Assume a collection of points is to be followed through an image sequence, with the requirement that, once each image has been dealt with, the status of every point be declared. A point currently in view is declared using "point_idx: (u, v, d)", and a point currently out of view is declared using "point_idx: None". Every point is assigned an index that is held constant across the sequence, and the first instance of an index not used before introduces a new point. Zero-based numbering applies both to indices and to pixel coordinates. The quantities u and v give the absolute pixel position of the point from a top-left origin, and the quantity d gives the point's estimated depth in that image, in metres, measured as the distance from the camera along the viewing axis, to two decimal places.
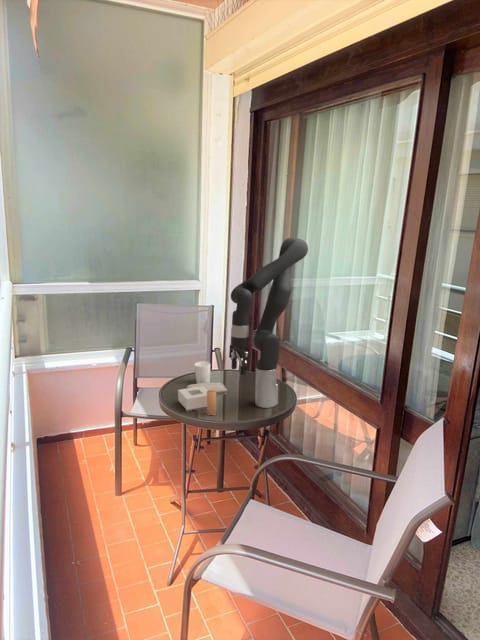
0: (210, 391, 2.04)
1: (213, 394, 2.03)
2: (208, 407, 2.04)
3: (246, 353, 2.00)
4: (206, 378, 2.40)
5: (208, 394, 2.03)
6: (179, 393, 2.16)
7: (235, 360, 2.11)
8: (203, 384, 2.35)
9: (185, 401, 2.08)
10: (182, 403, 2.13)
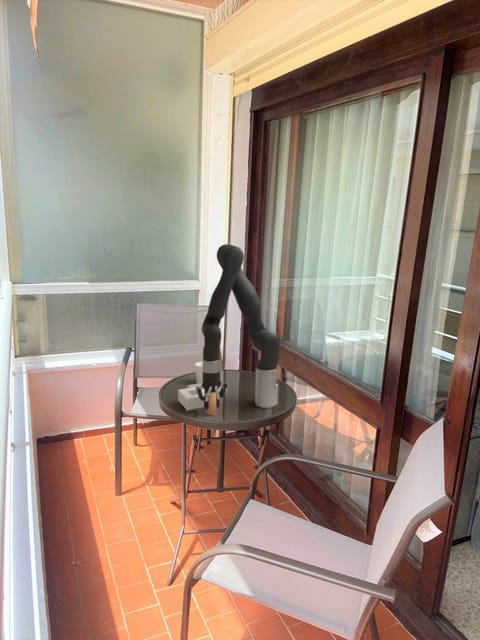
0: None
1: (213, 394, 2.03)
2: (208, 407, 2.04)
3: None
4: None
5: None
6: (179, 393, 2.16)
7: None
8: None
9: (185, 401, 2.08)
10: (182, 403, 2.13)
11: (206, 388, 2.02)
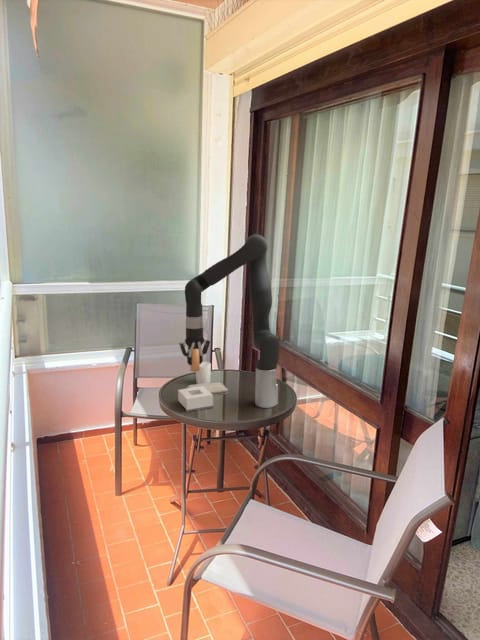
0: None
1: (196, 350, 2.08)
2: None
3: None
4: (206, 378, 2.40)
5: None
6: (179, 393, 2.16)
7: None
8: (203, 384, 2.35)
9: (185, 401, 2.08)
10: (182, 403, 2.13)
11: (189, 344, 2.07)
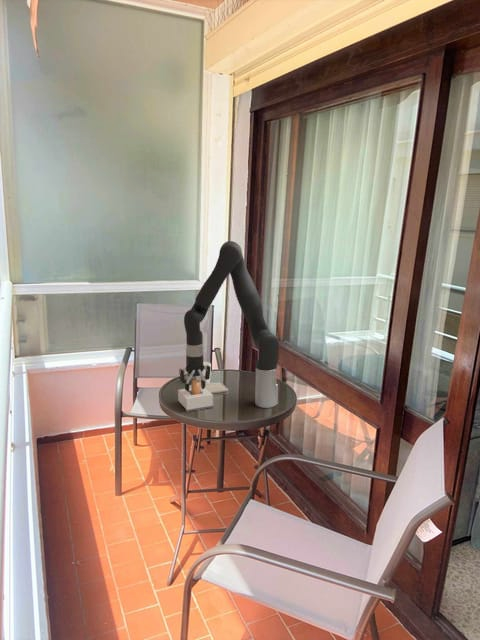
0: (195, 381, 2.13)
1: (197, 384, 2.12)
2: None
3: None
4: None
5: (193, 384, 2.12)
6: (179, 393, 2.16)
7: None
8: None
9: (185, 401, 2.08)
10: (182, 403, 2.13)
11: (189, 371, 2.10)
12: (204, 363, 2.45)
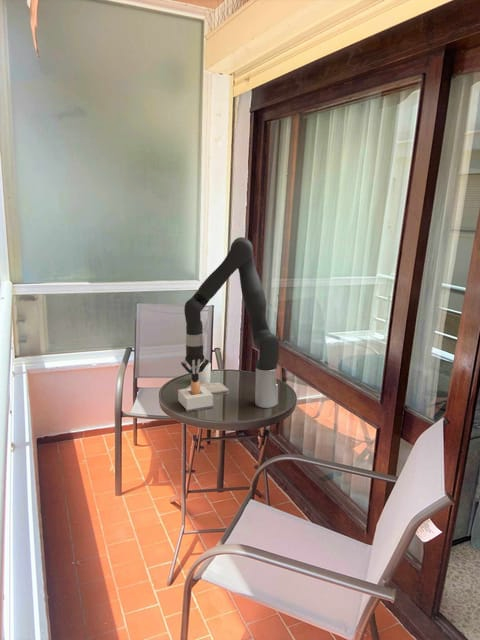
0: None
1: (197, 384, 2.11)
2: None
3: None
4: (206, 378, 2.40)
5: (192, 384, 2.12)
6: (179, 393, 2.16)
7: None
8: (203, 385, 2.34)
9: (185, 401, 2.08)
10: (182, 403, 2.13)
11: (190, 362, 2.09)
12: None
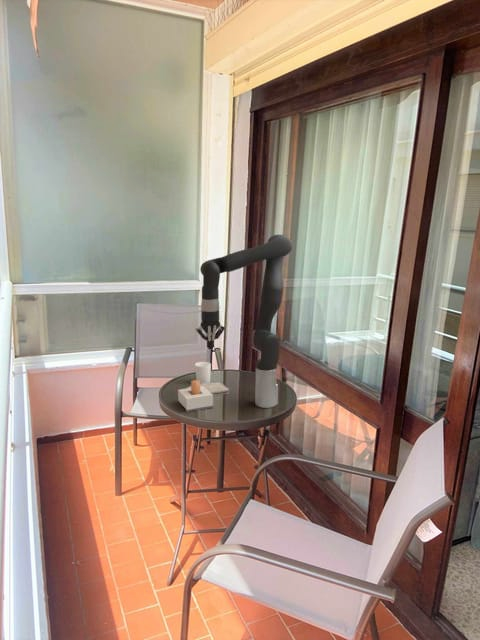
0: (194, 381, 2.14)
1: (197, 384, 2.12)
2: None
3: None
4: (206, 378, 2.40)
5: (192, 384, 2.12)
6: (179, 393, 2.16)
7: None
8: (203, 385, 2.34)
9: (185, 401, 2.08)
10: (182, 403, 2.13)
11: (205, 328, 2.03)
12: (204, 363, 2.45)
